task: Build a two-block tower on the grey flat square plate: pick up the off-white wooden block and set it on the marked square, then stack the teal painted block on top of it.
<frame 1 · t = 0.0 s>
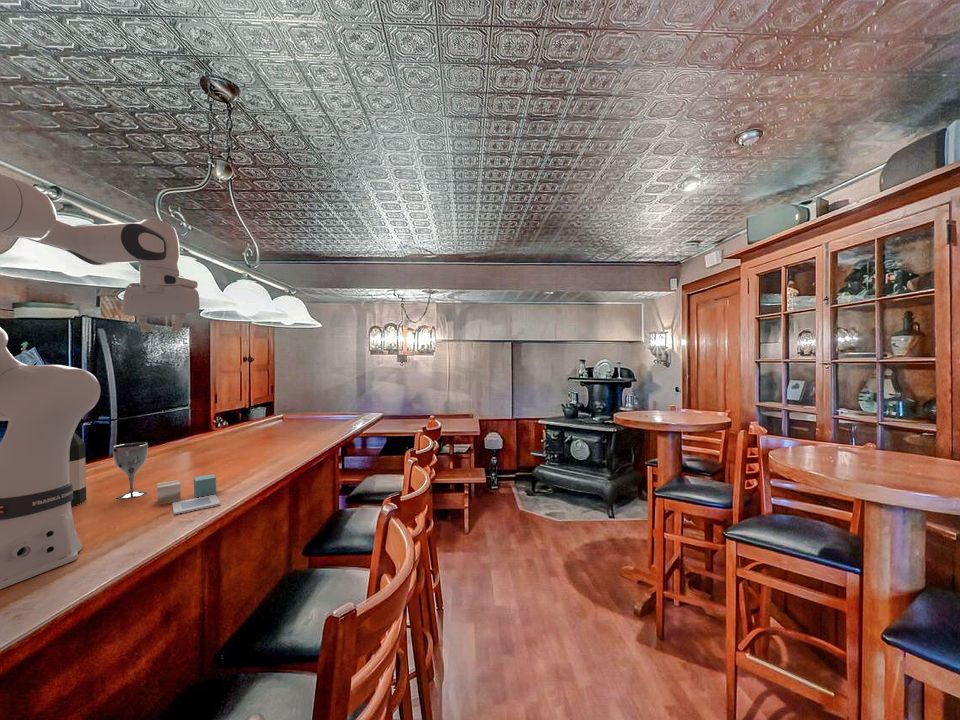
hand: (161, 331, 111), 48 cm above the counter, tool pointing down, fingers open, 8 cm apart
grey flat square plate: (196, 505, 109), on the counter
off-white block: (169, 501, 114), on the counter
wine bottle: (65, 505, 113), on the counter
teal block: (205, 494, 119), on the counter
wine glass: (131, 495, 119), on the counter
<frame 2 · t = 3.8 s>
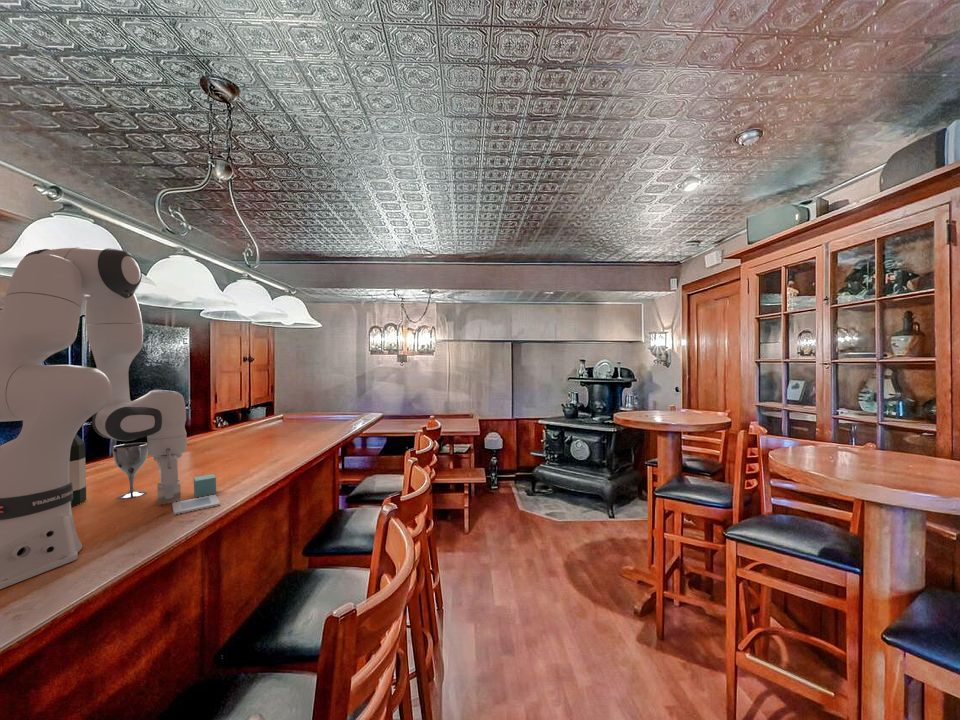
hand: (168, 495, 114), 2 cm above the counter, tool pointing down, fingers closed on off-white block, 5 cm apart
off-white block: (169, 500, 114), on the counter, touching gripper
everything else where it was.
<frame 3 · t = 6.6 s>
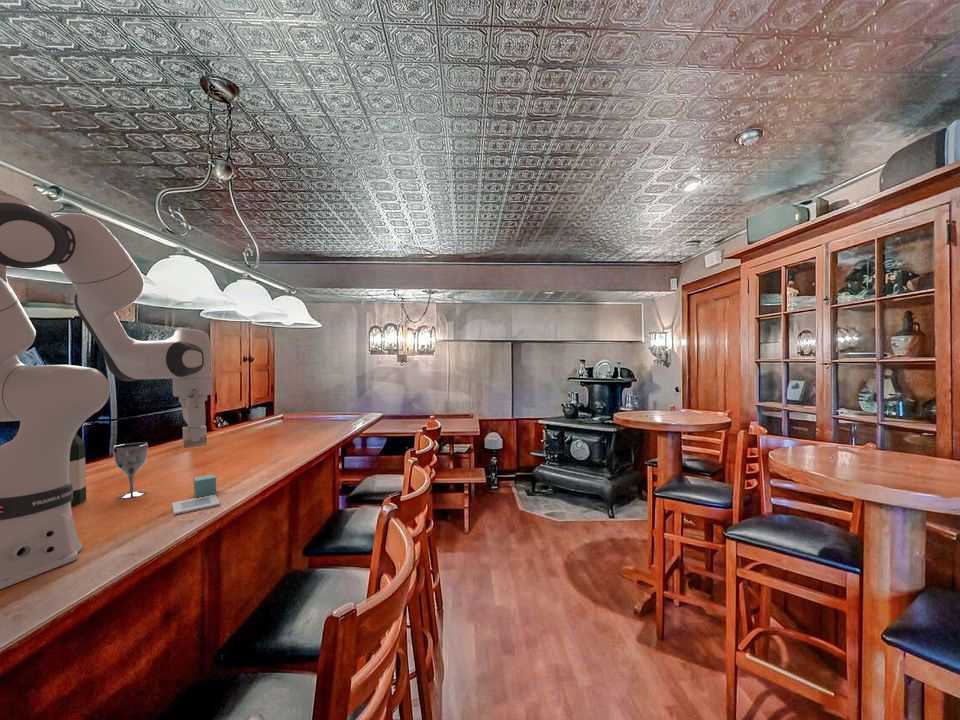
hand: (194, 439, 109), 18 cm above the counter, tool pointing down, fingers closed on off-white block, 5 cm apart
off-white block: (194, 445, 109), point 16 cm above the counter, touching gripper
everything else where it was.
when the fingers open (3 cm above the counter, at t = 9.6 s): off-white block drops 1 cm, resting on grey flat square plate.
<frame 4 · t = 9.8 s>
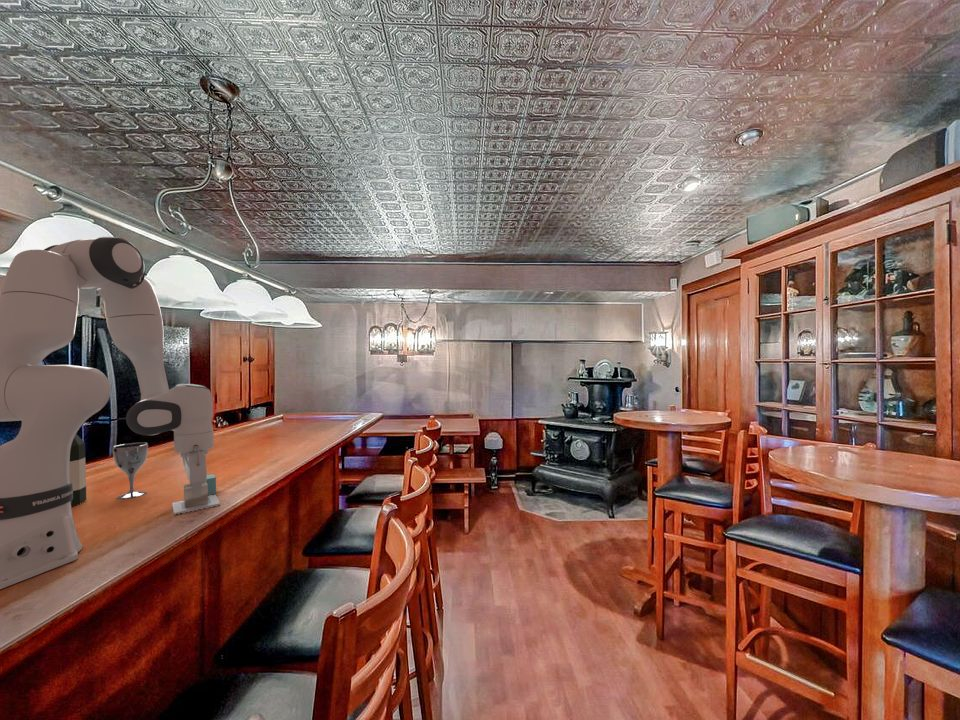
hand: (195, 493, 109), 3 cm above the counter, tool pointing down, fingers open, 7 cm apart
off-white block: (196, 502, 109), point 1 cm above the counter, touching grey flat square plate
everything else where it was.
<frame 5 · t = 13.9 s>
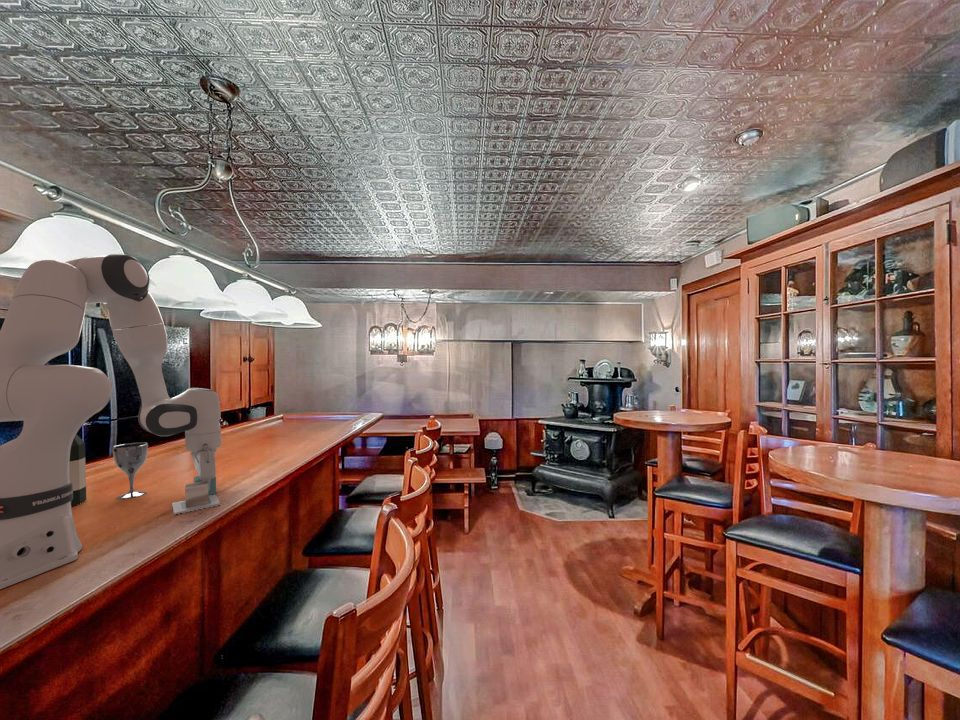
hand: (204, 488, 119), 2 cm above the counter, tool pointing down, fingers closed on teal block, 5 cm apart
teal block: (205, 493, 119), on the counter, touching gripper
everything else where it was.
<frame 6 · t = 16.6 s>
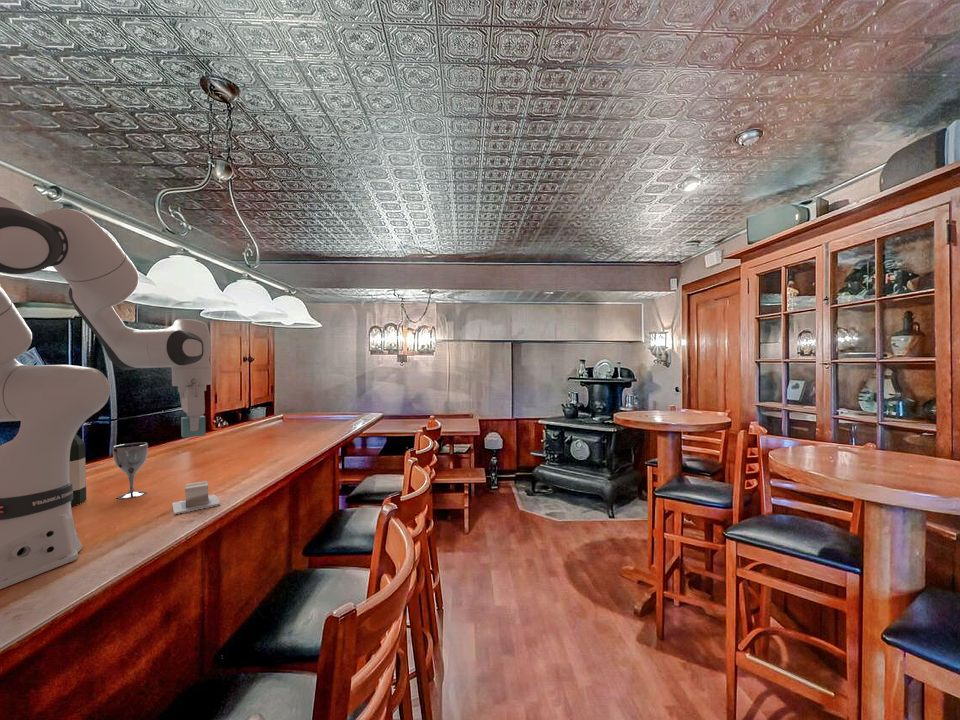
hand: (193, 429, 109), 21 cm above the counter, tool pointing down, fingers closed on teal block, 5 cm apart
teal block: (193, 435, 109), point 19 cm above the counter, touching gripper
everything else where it was.
when the fingers open (9 cm above the counter, at t = 19.4 s): teal block drops 1 cm, resting on off-white block.
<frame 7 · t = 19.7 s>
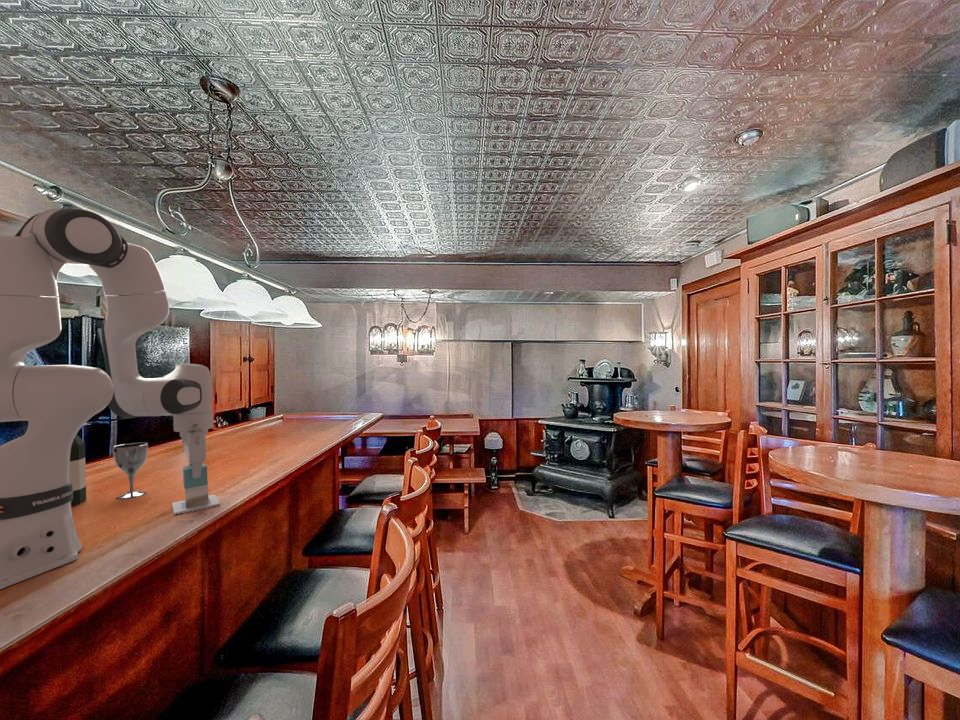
hand: (195, 473, 109), 9 cm above the counter, tool pointing down, fingers open, 8 cm apart
off-white block: (197, 502, 110), point 1 cm above the counter, touching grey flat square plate, teal block
teal block: (195, 484, 109), point 6 cm above the counter, touching off-white block
everything else where it was.
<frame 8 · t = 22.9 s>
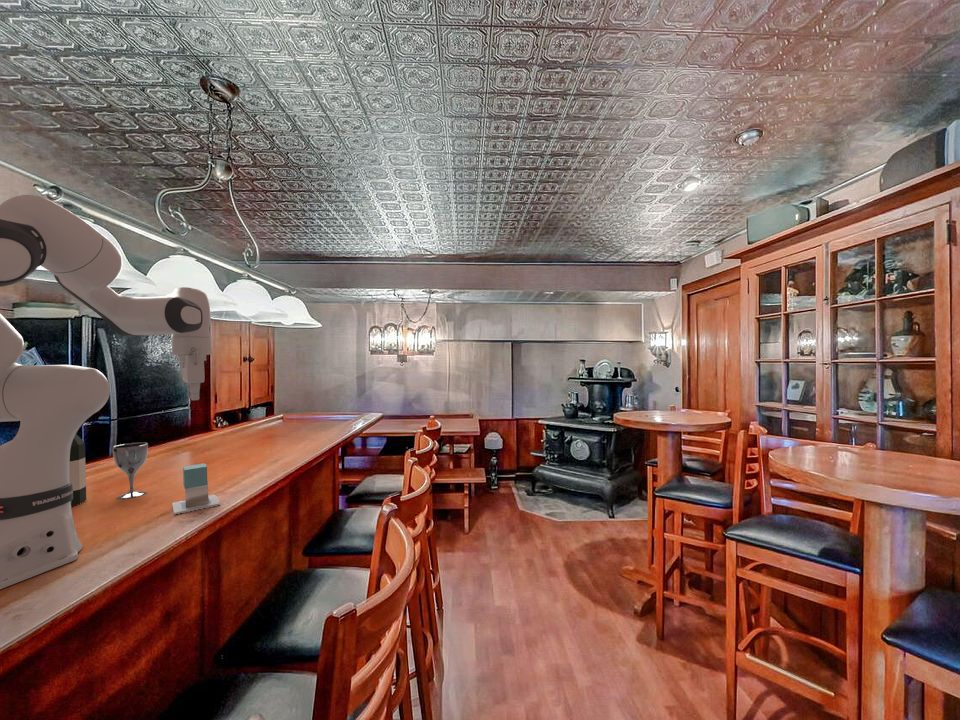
hand: (193, 399, 109), 29 cm above the counter, tool pointing down, fingers open, 8 cm apart
nothing on the counter moved.
at the end: off-white block 0.4 cm off-centre on the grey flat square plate, point 0.6 cm above the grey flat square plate's base; teal block 0.4 cm off-centre on the off-white block, point 5.0 cm above the off-white block's base; teal block tilted 0° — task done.
